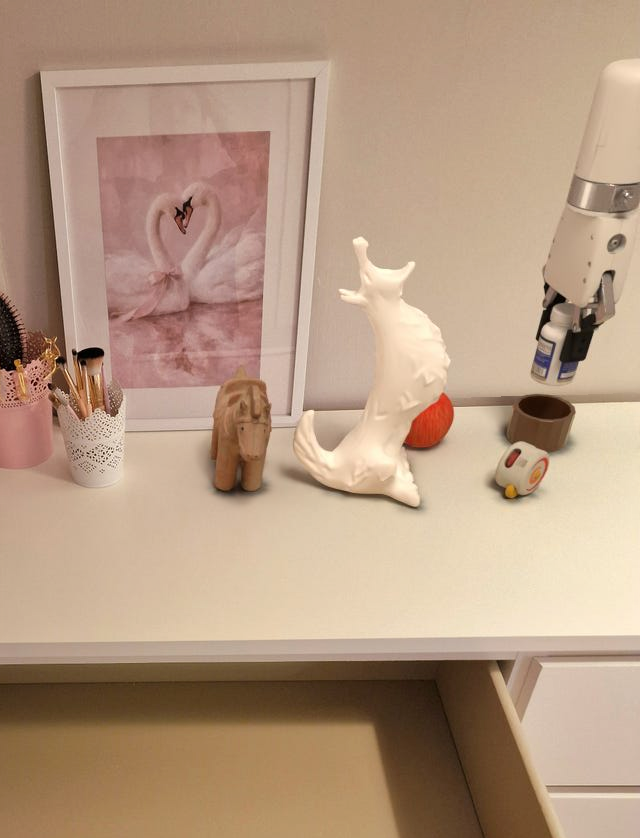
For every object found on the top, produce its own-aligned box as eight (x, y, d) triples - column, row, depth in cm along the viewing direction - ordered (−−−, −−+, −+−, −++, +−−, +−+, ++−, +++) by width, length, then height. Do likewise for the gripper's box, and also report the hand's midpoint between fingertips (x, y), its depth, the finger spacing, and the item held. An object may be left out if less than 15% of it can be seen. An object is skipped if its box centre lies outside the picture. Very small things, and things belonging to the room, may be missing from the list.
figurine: (220, 522, 105) (221, 408, 95) (206, 448, 118) (206, 342, 108) (280, 518, 106) (287, 404, 95) (260, 445, 118) (265, 338, 108)
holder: (549, 421, 120) (557, 391, 117) (576, 448, 114) (586, 417, 111) (496, 427, 119) (504, 397, 116) (522, 455, 114) (530, 424, 111)
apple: (390, 423, 121) (399, 368, 116) (450, 430, 119) (461, 375, 114) (383, 451, 116) (391, 396, 110) (445, 459, 114) (457, 403, 108)
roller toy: (548, 487, 108) (560, 446, 104) (517, 506, 105) (529, 464, 101) (517, 473, 111) (528, 432, 107) (486, 491, 108) (497, 450, 104)
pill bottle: (573, 371, 112) (594, 302, 106) (573, 389, 109) (594, 319, 103) (529, 366, 114) (548, 298, 108) (528, 384, 110) (547, 315, 104)
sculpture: (431, 509, 106) (483, 254, 85) (293, 511, 106) (312, 258, 86) (415, 460, 114) (459, 217, 94) (286, 462, 115) (302, 221, 95)
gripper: (682, 214, 90) (624, 377, 103) (596, 170, 103) (554, 320, 115) (614, 220, 90) (564, 384, 102) (536, 175, 102) (500, 326, 115)
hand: (559, 349), depth 109 cm, fingers closed on pill bottle, 5 cm apart
